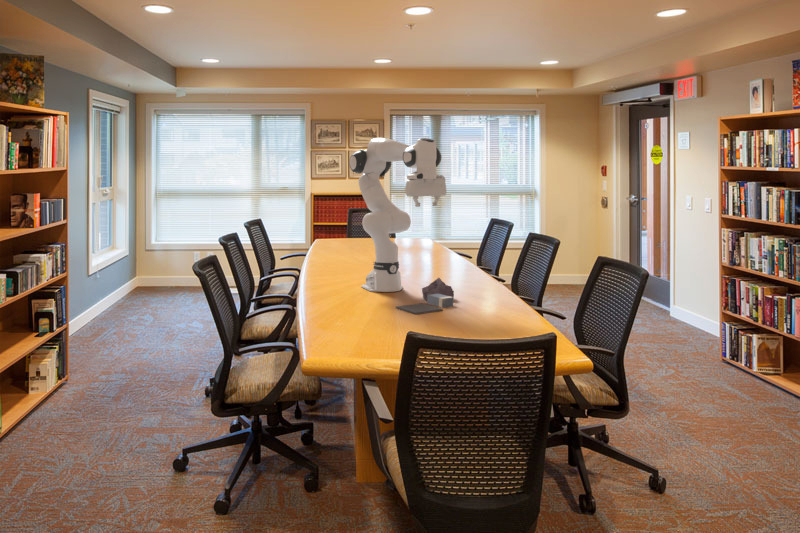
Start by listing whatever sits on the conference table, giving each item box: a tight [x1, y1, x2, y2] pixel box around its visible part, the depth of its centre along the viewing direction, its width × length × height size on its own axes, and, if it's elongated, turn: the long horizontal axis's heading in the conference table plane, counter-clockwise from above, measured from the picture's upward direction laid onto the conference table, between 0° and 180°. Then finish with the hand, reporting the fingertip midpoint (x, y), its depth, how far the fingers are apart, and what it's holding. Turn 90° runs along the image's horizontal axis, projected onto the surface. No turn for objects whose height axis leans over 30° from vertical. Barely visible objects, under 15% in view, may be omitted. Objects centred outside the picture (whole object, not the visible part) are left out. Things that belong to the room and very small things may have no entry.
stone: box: [421, 277, 455, 301], centre depth 314 cm, size 10×6×15 cm
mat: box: [395, 302, 443, 315], centre depth 292 cm, size 15×14×1 cm
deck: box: [426, 294, 454, 309], centre depth 302 cm, size 11×6×4 cm, turn 34°
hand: (426, 206), depth 306 cm, fingers open, 8 cm apart
